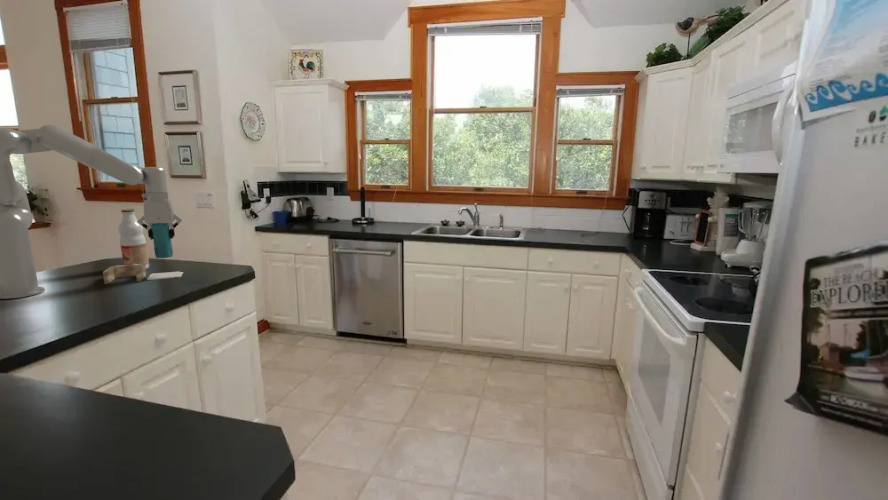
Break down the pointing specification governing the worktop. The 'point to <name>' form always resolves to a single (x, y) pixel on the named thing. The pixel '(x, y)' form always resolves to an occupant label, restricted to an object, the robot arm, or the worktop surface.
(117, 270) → the bottle bracket
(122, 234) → the fruit juice
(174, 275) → the trivet
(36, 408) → the worktop surface
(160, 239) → the beverage bottle
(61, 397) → the worktop surface
